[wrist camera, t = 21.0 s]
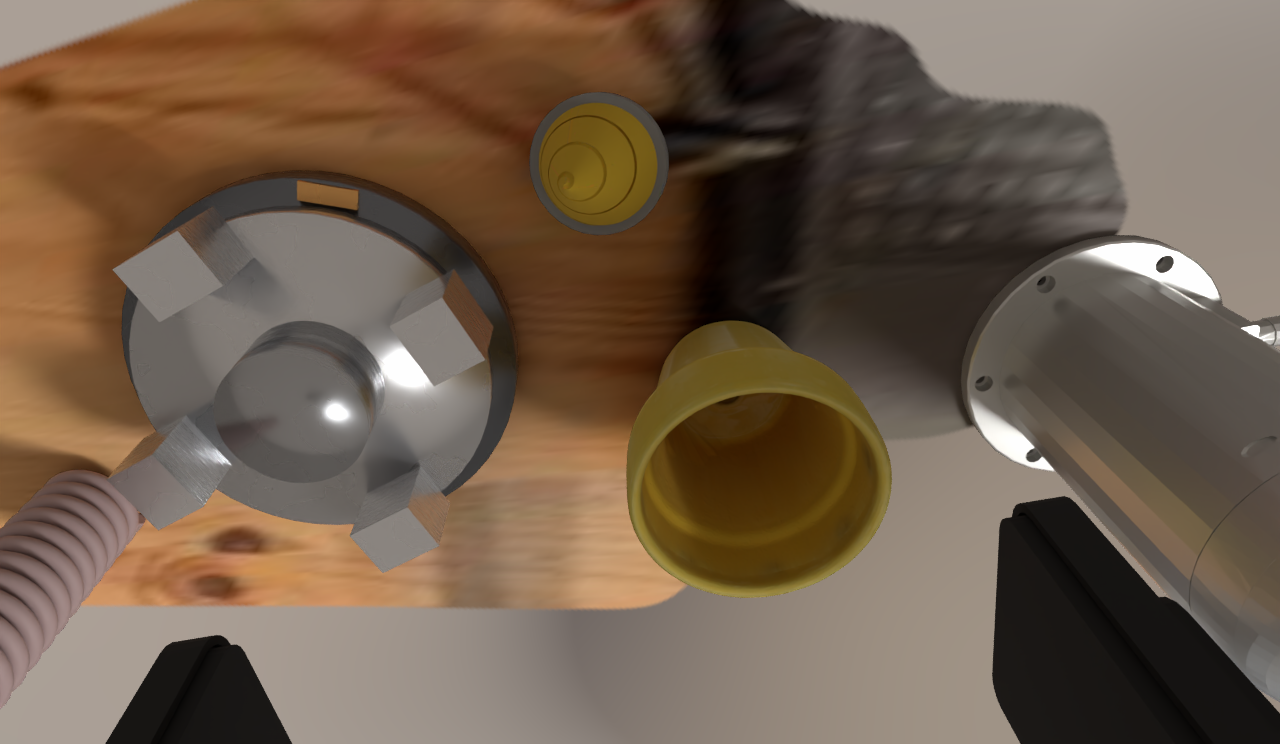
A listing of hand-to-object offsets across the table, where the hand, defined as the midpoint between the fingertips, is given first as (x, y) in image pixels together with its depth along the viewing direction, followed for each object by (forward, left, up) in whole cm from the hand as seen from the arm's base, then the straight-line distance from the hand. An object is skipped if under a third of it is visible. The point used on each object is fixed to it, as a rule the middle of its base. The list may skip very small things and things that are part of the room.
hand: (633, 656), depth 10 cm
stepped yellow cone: (-1, 0, -28) cm, 29 cm away
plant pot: (-4, +12, -28) cm, 31 cm away
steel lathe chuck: (+14, +7, -26) cm, 31 cm away
